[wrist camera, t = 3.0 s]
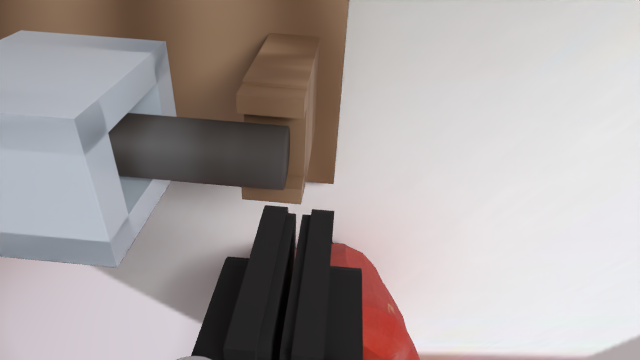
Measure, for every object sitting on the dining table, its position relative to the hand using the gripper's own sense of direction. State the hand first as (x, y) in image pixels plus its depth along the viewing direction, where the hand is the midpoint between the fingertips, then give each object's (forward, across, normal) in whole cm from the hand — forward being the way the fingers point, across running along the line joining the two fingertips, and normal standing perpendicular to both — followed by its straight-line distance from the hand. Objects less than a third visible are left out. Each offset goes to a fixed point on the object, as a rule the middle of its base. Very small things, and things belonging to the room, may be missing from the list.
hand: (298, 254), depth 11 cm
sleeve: (+7, +8, -1) cm, 10 cm away
